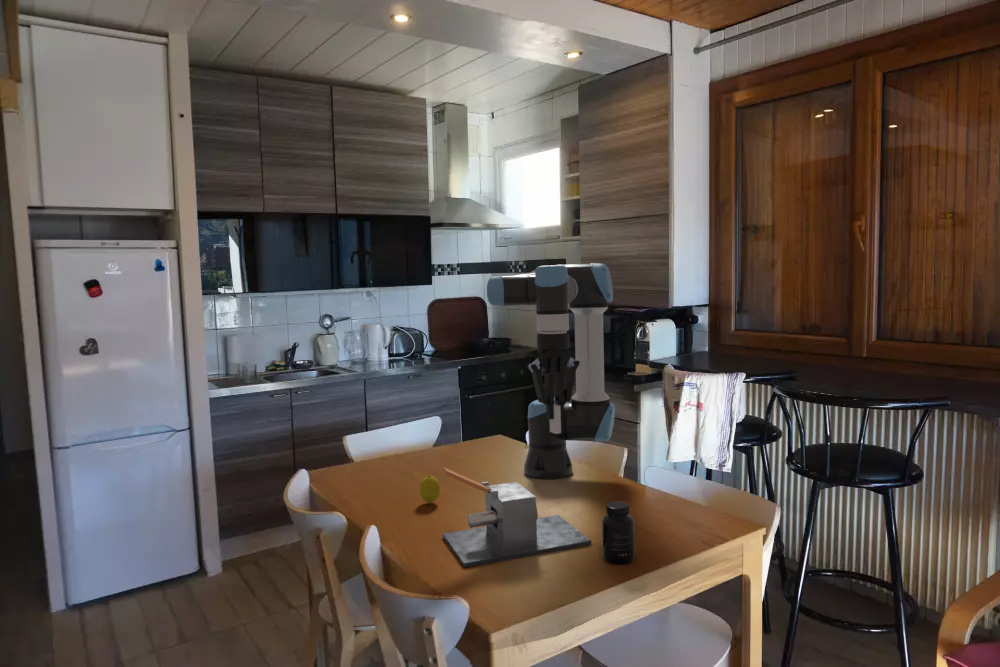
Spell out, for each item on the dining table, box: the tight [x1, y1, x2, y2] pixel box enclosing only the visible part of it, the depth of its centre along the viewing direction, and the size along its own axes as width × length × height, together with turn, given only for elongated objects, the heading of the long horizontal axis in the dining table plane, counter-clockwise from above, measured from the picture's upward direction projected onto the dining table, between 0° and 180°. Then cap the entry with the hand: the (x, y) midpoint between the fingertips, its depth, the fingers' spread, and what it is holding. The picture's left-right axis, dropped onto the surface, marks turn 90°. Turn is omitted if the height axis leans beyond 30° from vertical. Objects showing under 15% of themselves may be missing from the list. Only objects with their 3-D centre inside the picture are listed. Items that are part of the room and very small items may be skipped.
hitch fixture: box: [442, 481, 592, 569], centre depth 152 cm, size 30×18×14 cm, turn 110°
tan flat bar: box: [440, 466, 492, 494], centre depth 148 cm, size 13×4×1 cm, turn 110°
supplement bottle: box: [601, 500, 636, 566], centre depth 141 cm, size 7×7×12 cm
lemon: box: [419, 474, 441, 505], centre depth 180 cm, size 6×6×8 cm
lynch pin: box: [467, 506, 539, 529], centre depth 151 cm, size 16×5×5 cm, turn 110°
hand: (555, 432), depth 154 cm, fingers closed
